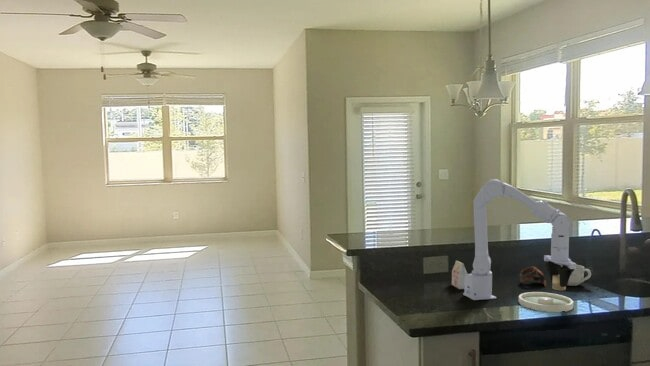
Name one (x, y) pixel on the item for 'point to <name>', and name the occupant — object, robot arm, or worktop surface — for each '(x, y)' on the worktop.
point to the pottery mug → (533, 272)
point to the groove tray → (546, 301)
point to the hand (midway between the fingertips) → (558, 284)
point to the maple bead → (557, 283)
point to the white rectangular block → (458, 275)
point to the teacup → (578, 276)
